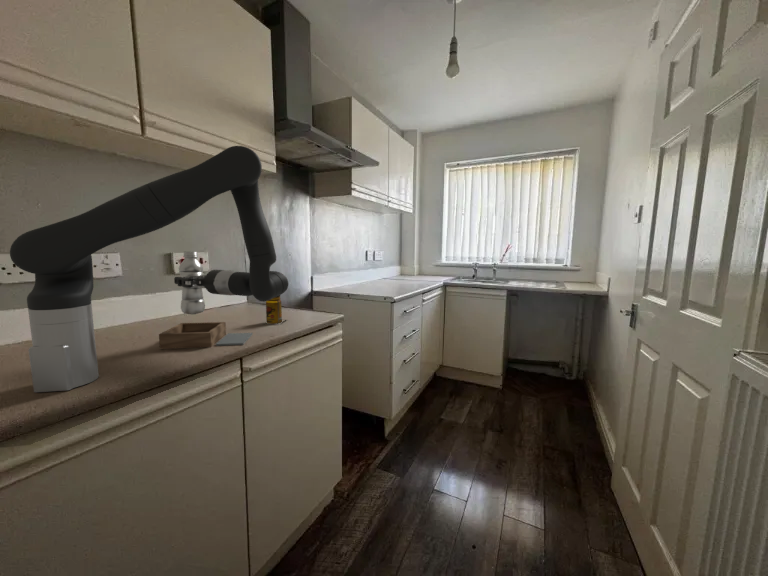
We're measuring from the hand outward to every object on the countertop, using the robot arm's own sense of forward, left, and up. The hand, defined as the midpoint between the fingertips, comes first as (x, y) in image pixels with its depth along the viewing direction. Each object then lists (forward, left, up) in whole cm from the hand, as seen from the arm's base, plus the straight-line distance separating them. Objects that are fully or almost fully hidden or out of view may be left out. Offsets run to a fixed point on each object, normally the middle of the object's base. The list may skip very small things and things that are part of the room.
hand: (186, 279), depth 95 cm
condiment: (+23, -23, -20) cm, 38 cm away
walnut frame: (-1, -2, -20) cm, 20 cm away
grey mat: (-1, -14, -20) cm, 25 cm away
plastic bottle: (-1, -2, -11) cm, 11 cm away
